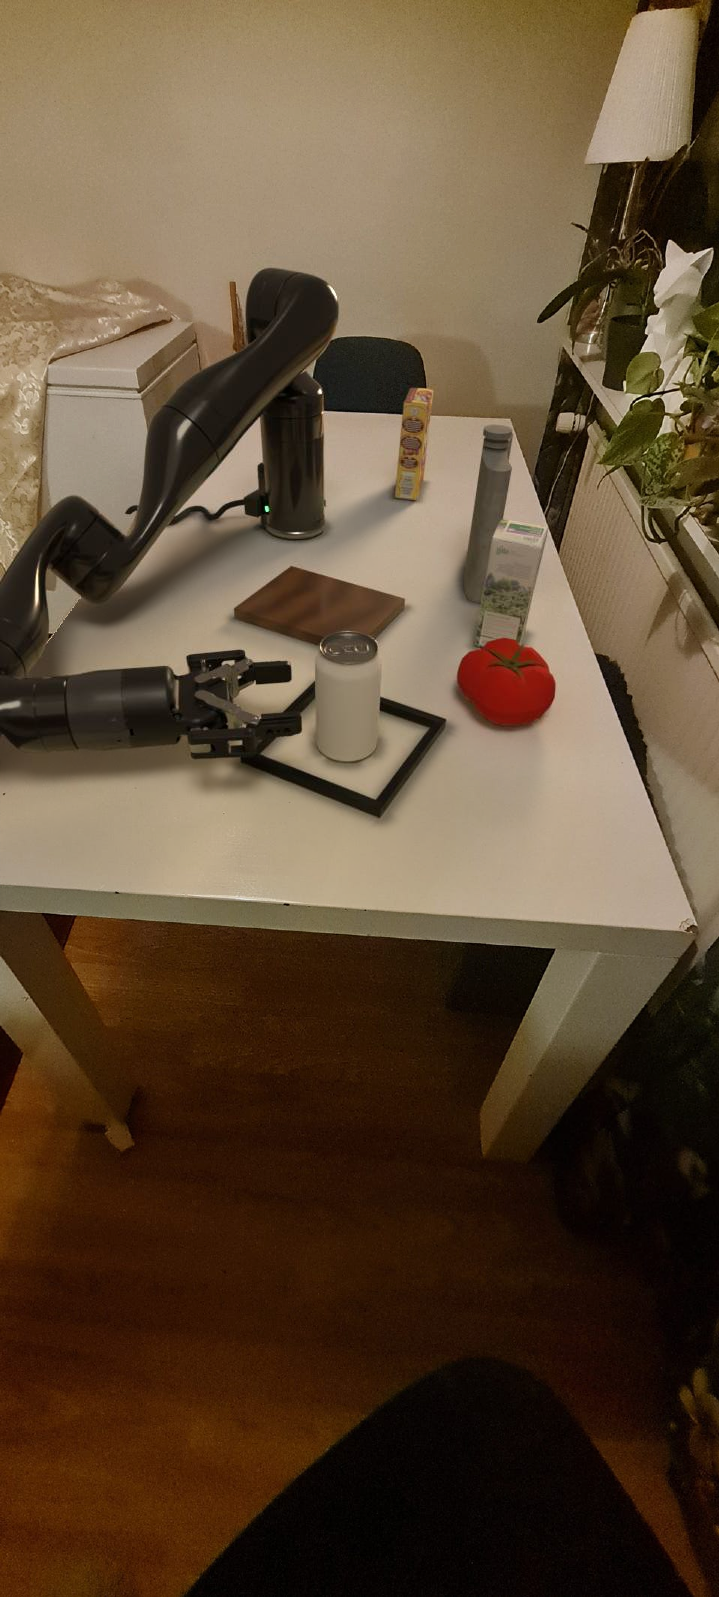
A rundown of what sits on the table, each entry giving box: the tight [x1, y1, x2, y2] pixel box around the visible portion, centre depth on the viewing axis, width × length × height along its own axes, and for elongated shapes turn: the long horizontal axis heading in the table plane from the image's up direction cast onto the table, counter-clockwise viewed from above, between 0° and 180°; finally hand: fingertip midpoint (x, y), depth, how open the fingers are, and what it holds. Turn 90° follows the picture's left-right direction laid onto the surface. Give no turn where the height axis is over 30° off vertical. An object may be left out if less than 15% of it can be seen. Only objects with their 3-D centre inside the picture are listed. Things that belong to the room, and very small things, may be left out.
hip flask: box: [463, 424, 514, 604], centre depth 96 cm, size 16×4×20 cm, turn 170°
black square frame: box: [239, 680, 447, 819], centre depth 74 cm, size 16×16×1 cm
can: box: [314, 631, 383, 763], centre depth 71 cm, size 6×6×12 cm
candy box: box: [394, 387, 434, 501], centre depth 120 cm, size 9×4×15 cm, turn 169°
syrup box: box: [474, 518, 549, 648], centre depth 86 cm, size 6×6×14 cm
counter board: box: [233, 565, 406, 647], centre depth 94 cm, size 18×14×2 cm
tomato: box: [456, 638, 557, 727], centre depth 78 cm, size 10×11×6 cm
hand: (296, 695), depth 69 cm, fingers open, 8 cm apart
